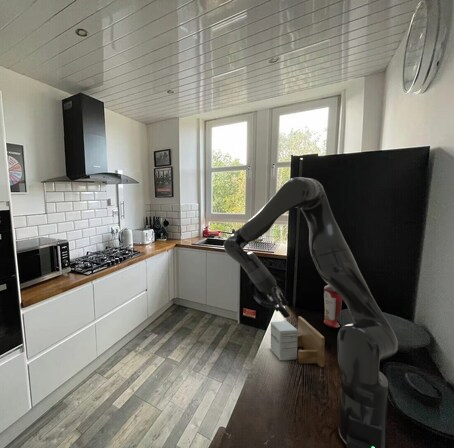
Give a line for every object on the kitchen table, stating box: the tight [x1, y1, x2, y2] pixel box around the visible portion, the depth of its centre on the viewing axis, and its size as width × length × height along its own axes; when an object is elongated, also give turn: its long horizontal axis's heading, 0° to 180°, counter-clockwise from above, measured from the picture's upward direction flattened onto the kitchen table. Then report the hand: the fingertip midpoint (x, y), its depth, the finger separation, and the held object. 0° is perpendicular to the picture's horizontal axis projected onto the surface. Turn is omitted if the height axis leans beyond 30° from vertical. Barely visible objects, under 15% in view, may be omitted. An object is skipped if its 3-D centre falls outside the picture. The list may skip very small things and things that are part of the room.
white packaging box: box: [270, 320, 298, 361], centre depth 100 cm, size 7×7×13 cm
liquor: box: [323, 284, 343, 329], centre depth 118 cm, size 7×7×28 cm
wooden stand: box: [297, 316, 326, 368], centre depth 100 cm, size 8×16×12 cm, turn 178°
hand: (286, 310), depth 96 cm, fingers open, 8 cm apart
